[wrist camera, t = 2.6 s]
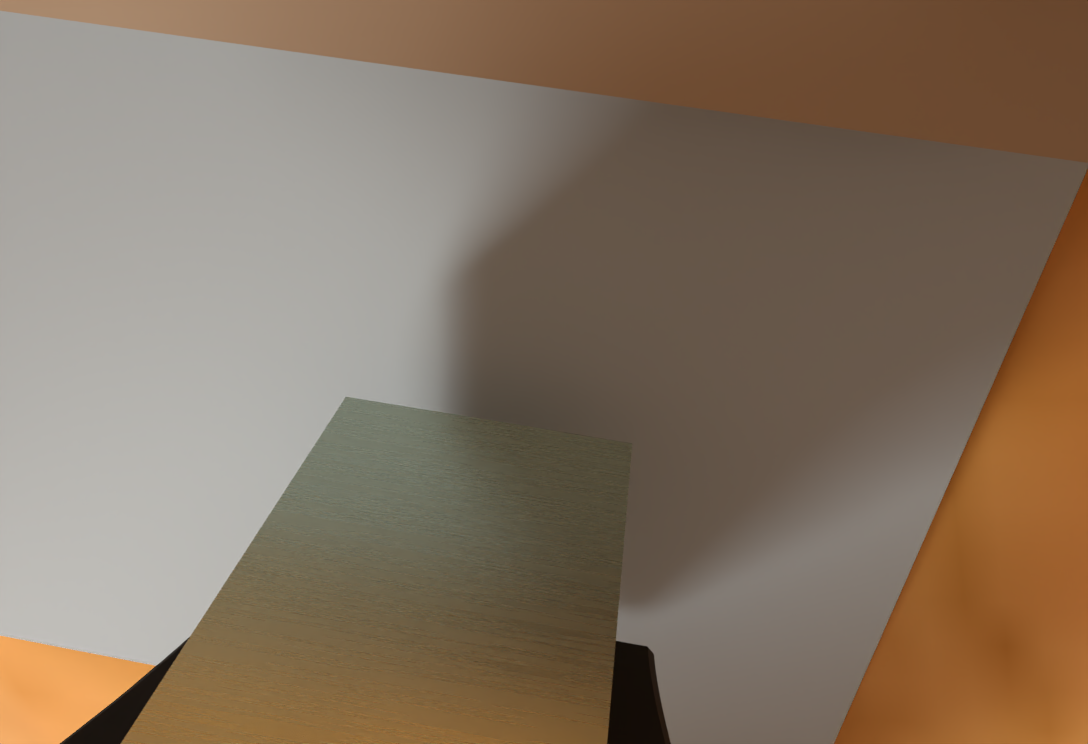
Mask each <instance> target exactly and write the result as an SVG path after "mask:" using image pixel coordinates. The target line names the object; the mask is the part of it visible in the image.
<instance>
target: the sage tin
mask: <svg viewBox="0 0 1088 744" xmlns="http://www.w3.org/2000/svg"><path fill="white" fill-rule="evenodd" d="M631 454H632V443H627V442H621V441H615V440H609V439H603V438H597V437H591V436H584V435H578V434H572V433H566V432H560V431H554V430H548V429H541V428H535V427H529V426H523V425H517V424H511V423H505V422H498V421H492V420H486V419H480V418H474V417H468V416H462V415H455V414H449V413H443V412H437V411H431V410H425V409H419V408H412V407H406V406H400V405H394V404H388V403H382V402H376V401H369V400H363V399H357V398H351V397H345V399H344V400H343V402H342V403H341V405H340V406H339V408H338V410H337V411H336V413H335V414H334V416H333V417H332V419H331V420H330V422H329V423H328V425H327V426H326V428H325V430H324V431H323V433H322V434H321V436H320V437H319V439H318V440H317V442H316V443H315V445H314V447H313V448H312V450H311V451H310V453H309V454H308V456H307V457H306V459H305V460H304V462H303V463H302V465H301V467H300V468H299V470H298V471H297V473H296V474H295V476H294V477H293V479H292V480H291V482H290V483H289V485H288V487H287V488H286V490H285V491H284V493H283V494H282V496H281V497H280V499H279V500H278V502H277V504H276V505H275V507H274V508H273V510H272V511H271V513H270V514H269V516H268V517H267V519H266V520H265V522H264V524H263V525H262V527H261V528H260V530H259V531H258V533H257V534H256V536H255V537H254V539H253V540H252V542H251V544H250V545H249V547H248V548H247V550H246V551H245V553H244V554H243V556H242V557H241V559H240V561H239V562H238V564H237V565H236V567H235V568H234V570H233V571H232V573H231V574H230V576H229V577H228V579H227V581H226V582H225V584H224V585H223V587H222V588H221V590H220V591H219V593H218V594H217V596H216V597H215V599H214V601H213V602H212V604H211V605H210V607H209V608H208V610H207V611H206V613H205V614H204V616H203V618H202V619H201V621H200V622H199V624H198V625H197V627H196V628H195V630H194V631H193V633H192V634H191V636H190V638H189V639H188V641H187V642H186V644H185V645H184V647H183V648H182V650H181V651H180V653H179V654H178V656H177V658H176V659H175V661H174V662H173V664H172V665H171V667H170V668H169V670H168V671H167V673H166V675H165V676H164V678H163V679H162V681H161V682H160V684H159V685H158V687H157V688H156V690H155V691H154V693H153V695H152V696H151V698H150V699H149V701H148V702H147V704H146V705H145V707H144V708H143V710H142V711H141V713H140V715H139V716H138V718H137V719H136V721H135V722H134V724H133V725H132V727H131V728H130V730H129V732H128V733H127V735H126V736H125V738H124V739H123V741H122V742H121V744H607V739H608V727H609V715H610V703H611V691H612V679H613V667H614V656H615V644H616V632H617V620H618V608H619V596H620V584H621V572H622V560H623V549H624V537H625V525H626V513H627V501H628V489H629V477H630V465H631Z"/></svg>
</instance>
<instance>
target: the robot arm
mask: <svg viewBox="0 0 1088 744" xmlns="http://www.w3.org/2000/svg"><path fill="white" fill-rule="evenodd" d="M189 638H190V637H189ZM189 638H188V639H189ZM188 639H186V640H185V641H184V642H183V643H182V644H181V645H180V646H179V647H178V648H176V649H175V650H174V651H173V652H172V653H171V654H169V655H168V656H167V657H166V658H165V659H164V660H162V661H161V662H160V663H159V664H158V665H157V666H155V667H154V668H153V669H152V670H151V671H150V672H148V673H147V674H146V675H145V676H144V677H143V678H141V679H140V680H139V681H138V682H137V683H136V684H134V685H133V686H132V687H131V688H130V689H128V690H127V691H126V692H125V693H124V694H122V695H121V696H120V697H119V698H118V699H116V700H115V701H114V702H113V703H111V704H110V705H109V706H107V707H106V708H105V709H104V710H102V711H101V712H100V713H99V714H97V715H96V716H95V717H93V718H92V719H91V720H90V721H88V722H87V723H86V724H84V725H83V726H82V727H81V728H79V729H78V730H77V731H76V732H74V733H73V734H72V735H70V736H69V737H68V738H67V739H65V740H64V741H63V742H62V743H60V744H121V742H122V741H123V739H124V738H125V736H126V735H127V733H128V732H129V730H130V728H131V727H132V725H133V724H134V722H135V721H136V719H137V718H138V716H139V715H140V713H141V711H142V710H143V708H144V707H145V705H146V704H147V702H148V701H149V699H150V698H151V696H152V695H153V693H154V691H155V690H156V688H157V687H158V685H159V684H160V682H161V681H162V679H163V678H164V676H165V675H166V673H167V671H168V670H169V668H170V667H171V665H172V664H173V662H174V661H175V659H176V658H177V656H178V654H179V653H180V651H181V650H182V648H183V647H184V645H185V644H186V642H187V641H188ZM607 744H671V742H670V738H669V734H668V730H667V726H666V722H665V717H664V713H663V708H662V703H661V699H660V693H659V688H658V682H657V675H656V669H655V660H654V654H653V652H652V651H651V650H650V649H649V648H648V646H642V645H637V644H631V643H626V642H620V641H616V644H615V656H614V667H613V679H612V691H611V703H610V715H609V727H608V739H607Z"/></svg>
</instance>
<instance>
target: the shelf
mask: <svg viewBox="0 0 1088 744" xmlns="http://www.w3.org/2000/svg"><path fill="white" fill-rule="evenodd" d="M1087 169H1088V0H0V635H1V636H6V637H11V638H16V639H21V640H26V641H32V642H37V643H42V644H47V645H52V646H57V647H63V648H68V649H73V650H78V651H83V652H88V653H93V654H99V655H104V656H109V657H114V658H119V659H124V660H130V661H135V662H140V663H145V664H150V665H155V666H157V665H158V664H159V663H160V662H161V661H162V660H164V659H165V658H166V657H167V656H168V655H169V654H171V653H172V652H173V651H174V650H175V649H176V648H178V647H179V646H180V645H181V644H182V643H183V642H184V641H185V640H186V639H188V638H189V637H190V636H191V634H192V633H193V631H194V630H195V628H196V627H197V625H198V624H199V622H200V621H201V619H202V618H203V616H204V614H205V613H206V611H207V610H208V608H209V607H210V605H211V604H212V602H213V601H214V599H215V597H216V596H217V594H218V593H219V591H220V590H221V588H222V587H223V585H224V584H225V582H226V581H227V579H228V577H229V576H230V574H231V573H232V571H233V570H234V568H235V567H236V565H237V564H238V562H239V561H240V559H241V557H242V556H243V554H244V553H245V551H246V550H247V548H248V547H249V545H250V544H251V542H252V540H253V539H254V537H255V536H256V534H257V533H258V531H259V530H260V528H261V527H262V525H263V524H264V522H265V520H266V519H267V517H268V516H269V514H270V513H271V511H272V510H273V508H274V507H275V505H276V504H277V502H278V500H279V499H280V497H281V496H282V494H283V493H284V491H285V490H286V488H287V487H288V485H289V483H290V482H291V480H292V479H293V477H294V476H295V474H296V473H297V471H298V470H299V468H300V467H301V465H302V463H303V462H304V460H305V459H306V457H307V456H308V454H309V453H310V451H311V450H312V448H313V447H314V445H315V443H316V442H317V440H318V439H319V437H320V436H321V434H322V433H323V431H324V430H325V428H326V426H327V425H328V423H329V422H330V420H331V419H332V417H333V416H334V414H335V413H336V411H337V410H338V408H339V406H340V405H341V403H342V402H343V400H344V399H345V397H351V398H357V399H363V400H369V401H376V402H382V403H388V404H394V405H400V406H406V407H412V408H419V409H425V410H431V411H437V412H443V413H449V414H455V415H462V416H468V417H474V418H480V419H486V420H492V421H498V422H505V423H511V424H517V425H523V426H529V427H535V428H541V429H548V430H554V431H560V432H566V433H572V434H578V435H584V436H591V437H597V438H603V439H609V440H615V441H621V442H627V443H632V454H631V465H630V477H629V489H628V501H627V513H626V525H625V537H624V549H623V560H622V572H621V584H620V596H619V608H618V620H617V632H616V641H620V642H626V643H631V644H637V645H642V646H648V648H649V649H650V650H651V651H652V652H653V654H654V660H655V669H656V675H657V682H658V688H659V693H660V699H661V703H662V708H663V713H664V717H665V722H666V726H667V730H668V734H669V738H670V742H671V744H834V742H835V740H836V738H837V735H838V733H839V731H840V729H841V726H842V724H843V722H844V720H845V717H846V715H847V713H848V711H849V708H850V706H851V704H852V701H853V699H854V697H855V695H856V692H857V690H858V688H859V686H860V683H861V681H862V679H863V677H864V674H865V672H866V670H867V667H868V665H869V663H870V661H871V658H872V656H873V654H874V652H875V649H876V647H877V645H878V643H879V640H880V638H881V636H882V634H883V631H884V629H885V627H886V624H887V622H888V620H889V618H890V615H891V613H892V611H893V609H894V606H895V604H896V602H897V600H898V597H899V595H900V593H901V591H902V588H903V586H904V584H905V581H906V579H907V577H908V575H909V572H910V570H911V568H912V566H913V563H914V561H915V559H916V557H917V554H918V552H919V550H920V547H921V545H922V543H923V541H924V538H925V536H926V534H927V532H928V529H929V527H930V525H931V523H932V520H933V518H934V516H935V514H936V511H937V509H938V507H939V504H940V502H941V500H942V498H943V495H944V493H945V491H946V489H947V486H948V484H949V482H950V480H951V477H952V475H953V473H954V470H955V468H956V466H957V464H958V461H959V459H960V457H961V455H962V452H963V450H964V448H965V446H966V443H967V441H968V439H969V437H970V434H971V432H972V430H973V427H974V425H975V423H976V421H977V418H978V416H979V414H980V412H981V409H982V407H983V405H984V403H985V400H986V398H987V396H988V394H989V391H990V389H991V387H992V384H993V382H994V380H995V378H996V375H997V373H998V371H999V369H1000V366H1001V364H1002V362H1003V360H1004V357H1005V355H1006V353H1007V350H1008V348H1009V346H1010V344H1011V341H1012V339H1013V337H1014V335H1015V332H1016V330H1017V328H1018V326H1019V323H1020V321H1021V319H1022V317H1023V314H1024V312H1025V310H1026V307H1027V305H1028V303H1029V301H1030V298H1031V296H1032V294H1033V292H1034V289H1035V287H1036V285H1037V283H1038V280H1039V278H1040V276H1041V273H1042V271H1043V269H1044V267H1045V264H1046V262H1047V260H1048V258H1049V255H1050V253H1051V251H1052V249H1053V246H1054V244H1055V242H1056V240H1057V237H1058V235H1059V233H1060V230H1061V228H1062V226H1063V224H1064V221H1065V219H1066V217H1067V215H1068V212H1069V210H1070V208H1071V206H1072V203H1073V201H1074V199H1075V197H1076V194H1077V192H1078V190H1079V187H1080V185H1081V183H1082V181H1083V178H1084V176H1085V174H1086V172H1087Z"/></svg>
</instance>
